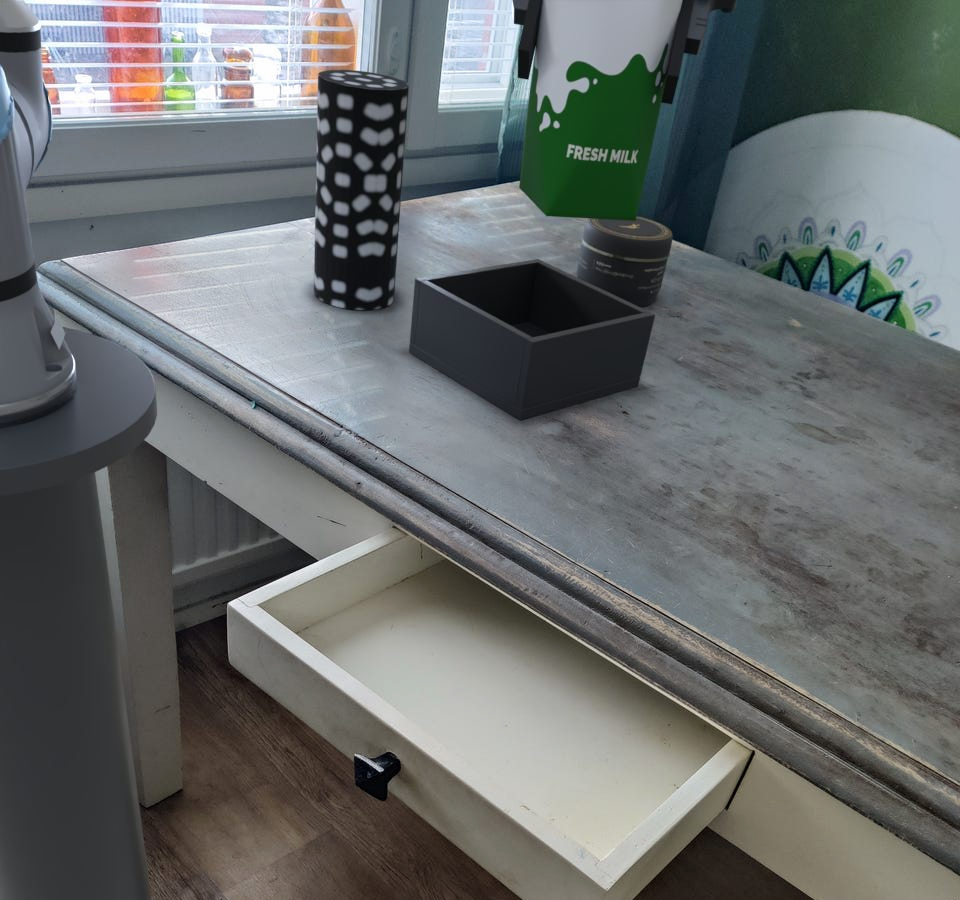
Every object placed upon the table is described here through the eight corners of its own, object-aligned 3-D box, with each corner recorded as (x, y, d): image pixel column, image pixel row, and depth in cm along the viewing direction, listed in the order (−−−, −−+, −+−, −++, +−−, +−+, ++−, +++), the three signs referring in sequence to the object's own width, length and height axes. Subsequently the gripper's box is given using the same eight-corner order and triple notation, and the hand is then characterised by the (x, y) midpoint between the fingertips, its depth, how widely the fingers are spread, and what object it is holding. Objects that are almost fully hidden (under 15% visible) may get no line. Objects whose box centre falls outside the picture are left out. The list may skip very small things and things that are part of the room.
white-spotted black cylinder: (405, 292, 106) (421, 82, 93) (375, 316, 99) (388, 94, 87) (334, 275, 107) (340, 66, 95) (300, 298, 101) (302, 76, 88)
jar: (670, 295, 116) (686, 227, 111) (641, 317, 109) (657, 246, 104) (592, 272, 119) (605, 206, 114) (559, 293, 112) (571, 223, 107)
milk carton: (537, 220, 69) (591, -141, 57) (503, 183, 76) (545, -147, 63) (652, 226, 71) (728, -120, 59) (609, 190, 78) (669, -128, 66)
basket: (408, 352, 93) (414, 278, 89) (527, 327, 102) (538, 258, 98) (519, 420, 85) (532, 342, 80) (638, 386, 94) (655, 314, 89)
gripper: (799, -142, 71) (746, 141, 69) (503, -189, 73) (439, 87, 70) (833, -248, 64) (774, 65, 61) (502, -298, 65) (431, 7, 63)
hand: (596, 77), depth 66 cm, fingers closed on milk carton, 9 cm apart
